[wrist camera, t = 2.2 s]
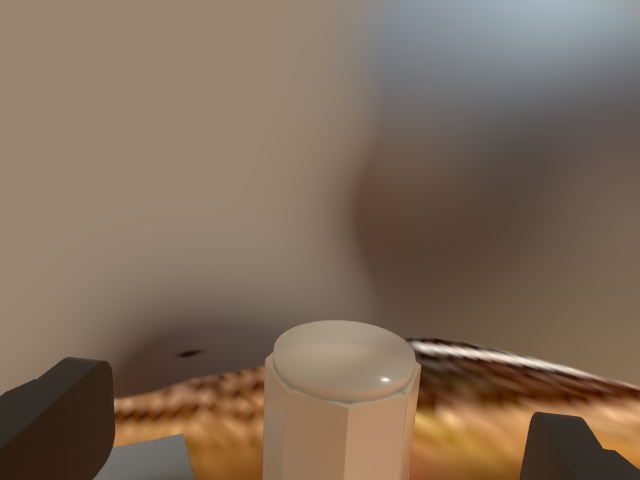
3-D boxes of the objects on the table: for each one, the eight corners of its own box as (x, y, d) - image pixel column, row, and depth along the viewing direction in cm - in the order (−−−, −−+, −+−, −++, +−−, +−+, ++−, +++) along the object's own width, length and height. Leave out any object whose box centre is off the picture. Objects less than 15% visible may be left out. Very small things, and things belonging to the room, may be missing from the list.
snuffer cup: (359, 478, 28) (372, 312, 26) (423, 572, 23) (448, 373, 20) (250, 509, 26) (253, 328, 23) (293, 622, 20) (302, 403, 18)
